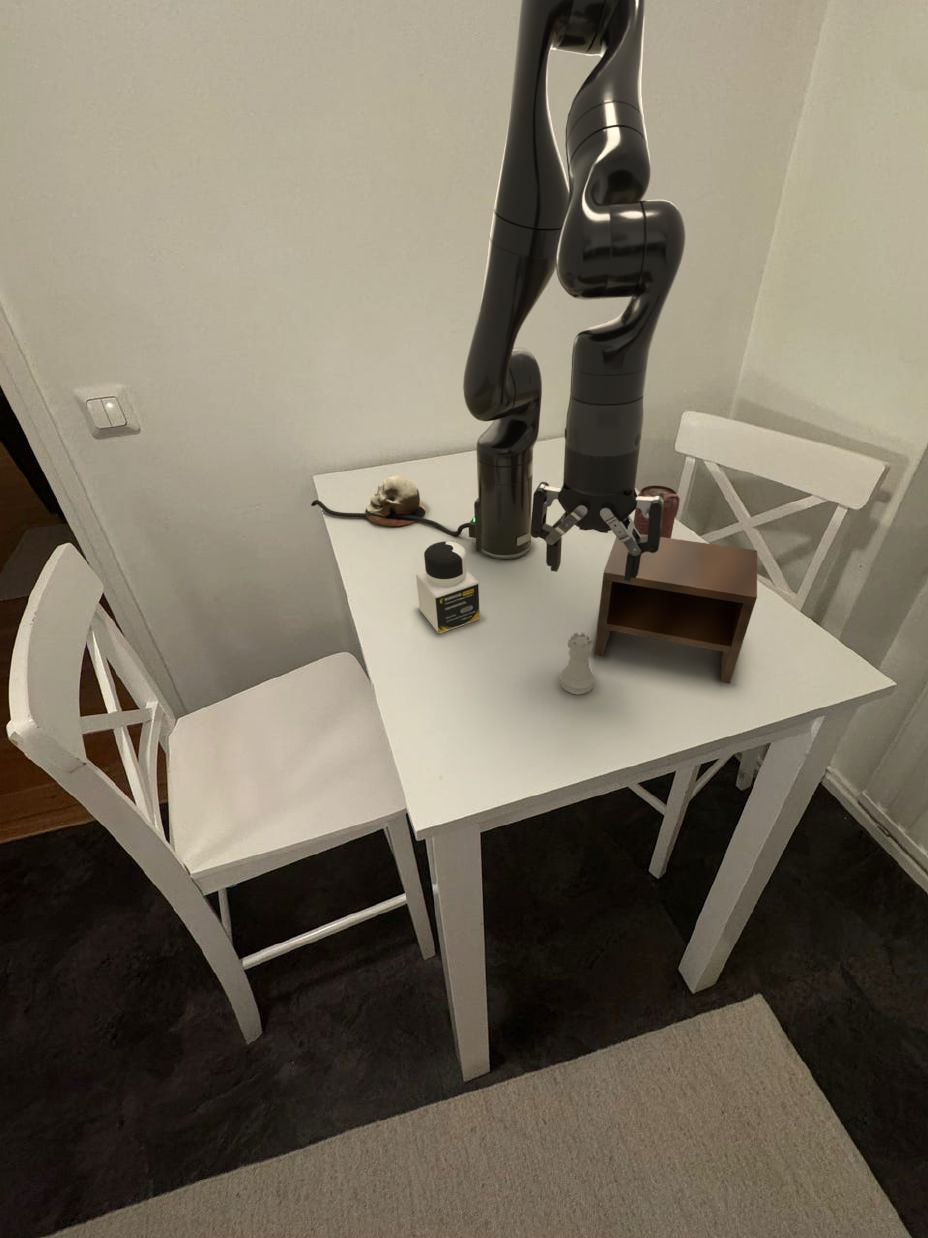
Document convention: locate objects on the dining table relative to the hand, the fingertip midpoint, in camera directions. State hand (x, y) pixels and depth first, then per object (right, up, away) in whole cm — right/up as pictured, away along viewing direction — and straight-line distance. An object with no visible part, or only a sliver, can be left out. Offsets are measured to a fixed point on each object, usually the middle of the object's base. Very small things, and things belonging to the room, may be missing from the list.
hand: (590, 572), depth 71 cm
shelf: (+14, -9, +15) cm, 22 cm away
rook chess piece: (0, -14, +9) cm, 17 cm away
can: (+16, +3, +31) cm, 34 cm away
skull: (-29, +16, +50) cm, 60 cm away
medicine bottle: (-17, -5, +23) cm, 29 cm away
